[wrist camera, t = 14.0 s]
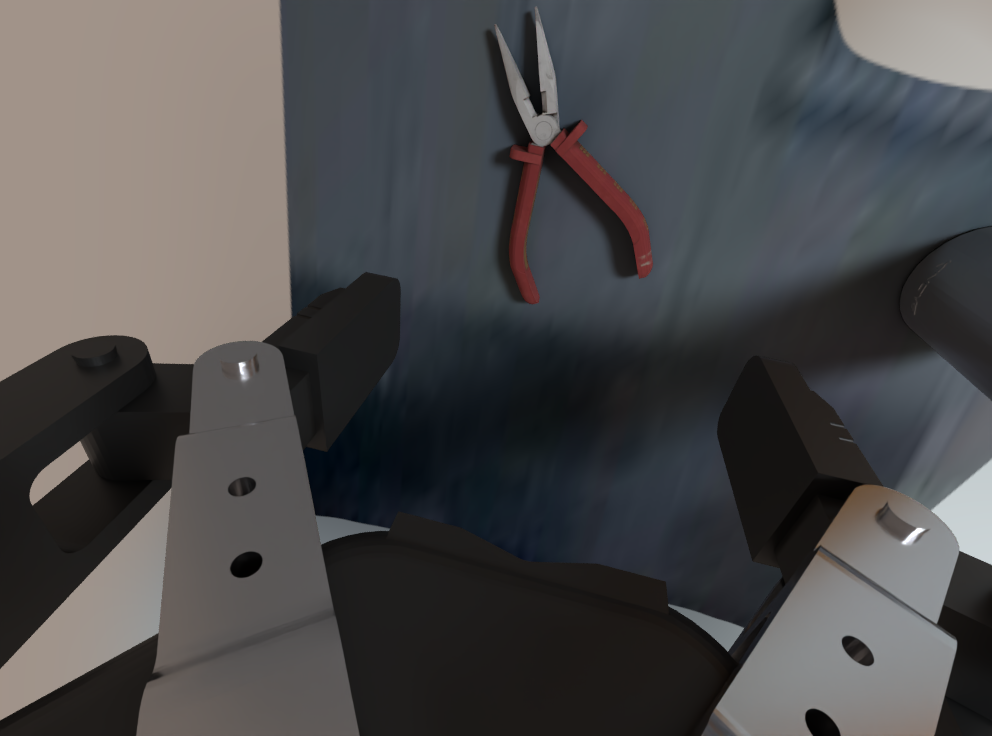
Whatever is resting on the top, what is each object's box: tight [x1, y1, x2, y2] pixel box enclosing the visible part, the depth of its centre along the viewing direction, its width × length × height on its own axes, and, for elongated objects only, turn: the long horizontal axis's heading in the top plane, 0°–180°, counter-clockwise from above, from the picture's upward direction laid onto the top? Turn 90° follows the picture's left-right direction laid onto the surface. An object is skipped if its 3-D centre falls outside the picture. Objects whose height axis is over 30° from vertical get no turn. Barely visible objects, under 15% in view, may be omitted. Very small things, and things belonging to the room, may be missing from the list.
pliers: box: [494, 7, 653, 304], centre depth 36 cm, size 12×20×3 cm, turn 20°
